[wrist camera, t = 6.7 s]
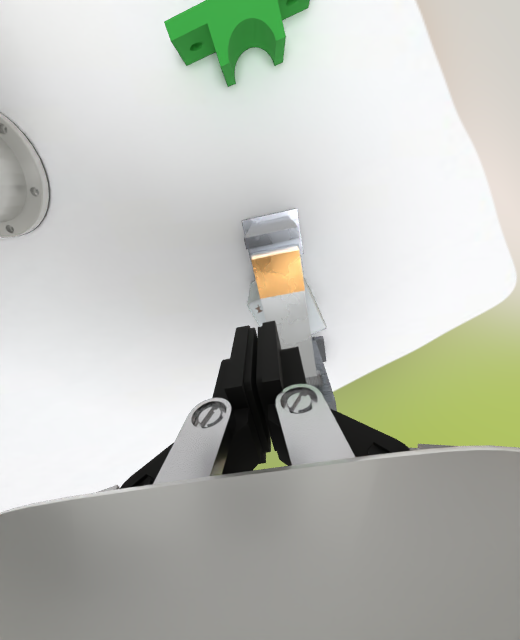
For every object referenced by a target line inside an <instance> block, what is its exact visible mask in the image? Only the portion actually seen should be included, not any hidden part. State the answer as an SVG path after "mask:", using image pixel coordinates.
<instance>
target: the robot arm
mask: <svg viewBox="0 0 520 640" xmlns="http://www.w3.org/2000/svg"><path fill="white" fill-rule="evenodd" d="M48 200H49V191H48V182H47V178H46V174H45V171H44V168H43V166H42V163H41V161H40V158H39V157H38V155H37V153H36V151H35V150H34V148H33V146H32V145H31V143H30V142H29V141H28V139H27V138H26V137H25V135H24V134H23V133H22V132H21V131H20V130H19V129H18V128H17V127H16V126H15V125H14V124H13V123H12V122H11V121H10V120H9V119H8V118H6V117H5V116H4V115H2V114H1V113H0V237H1V238H4V237H15V236H20V235H24V234H26V233H28V232H31V231H32V230H33V229H35V228H36V227H37V226H38V225H39V224H40V223H41V221H42V220H43V218H44V216H45V213H46V211H47V208H48ZM270 436H271V439H272V443H273V446H274V450H275V451H277V453H278V456H279V459H280V460H281V461H282V462H284V463H285V464H286V465H288V466H284V467H277V468H269V469H262V470H254V471H253V469H254V468H255V467H256V466H257V465H258V464H261V463H266V452H270V451H271V439H270ZM0 640H520V448H516V447H502V446H445V445H429V444H418V448H408V447H407V446H406V445H405V444H403V443H402V442H400V441H398V440H397V439H395V438H392V437H390V436H388V435H386V434H384V433H382V432H380V431H378V430H375V429H373V428H371V427H369V426H367V425H365V424H363V423H360V422H358V421H356V420H354V419H352V418H350V417H348V416H345V415H343V414H341V413H339V412H337V411H335V410H332V409H330V408H329V406H328V404H327V403H326V401H325V399H324V397H323V395H322V393H321V392H320V391H319V390H318V389H317V388H316V387H314V386H311V385H308V384H307V383H306V378H305V374H304V370H303V365H302V361H301V356H300V352H299V347H292V348H287V349H281V345H280V340H279V336H278V331H277V326H276V322H275V321H269V322H264V323H262V326H261V327H258V338H257V334H256V330H255V328H250V326H243V327H238V328H236V332H235V337H234V342H233V347H232V352H231V357H230V359H226V360H222V362H221V366H220V370H219V374H218V378H217V382H216V386H215V390H214V394H213V398H211V399H208V400H205V401H203V402H201V403H199V404H198V405H196V406H195V407H194V408H193V409H192V410H191V412H190V413H189V415H188V417H187V419H186V420H185V422H184V424H183V426H182V428H181V430H180V432H179V434H178V436H177V438H176V440H175V442H174V443H173V444H171V445H170V446H169V447H168V448H166V449H165V450H164V451H162V452H161V453H160V454H159V455H157V456H156V457H155V458H154V459H152V460H151V461H150V462H149V463H147V464H146V465H145V466H144V467H142V468H141V469H140V470H138V471H137V472H136V473H135V474H133V475H132V476H131V477H130V478H129V479H128V480H127V481H126V482H125V483H124V484H123V485H122V486H121V488H119V486H118V485H116V486H113V487H110V488H107V489H105V490H102V491H99V492H96V493H90V494H83V495H77V496H71V497H65V498H59V499H54V500H49V501H43V502H38V503H33V504H29V505H25V506H21V507H17V508H13V509H10V510H7V511H4V512H1V513H0Z"/></svg>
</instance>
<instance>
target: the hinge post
mask: <svg viewBox="0 0 520 640" xmlns="http://www.w3.org/2000/svg"><path fill="white" fill-rule="evenodd" d="M312 345H313V352H314V359H315V365H316V371H318V370H320V372H321V376H322V381H323V387H319V388H317V389H318V390H319V391H320V392H321V393H322V395H323V397H324V399H325V401H326V403H327V404H328V406H329V408H330V409H332V410H335V411H337V410H336V402H335V398H334V395H333V392H332V389H331V386H330V383H329V380H328V377H327V373H326V370H325V367H324V364H323V362H326V356H325V348H324V340H323V336H321V337H315V338H312Z"/></svg>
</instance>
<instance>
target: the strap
mask: <svg viewBox="0 0 520 640" xmlns="http://www.w3.org/2000/svg"><path fill="white" fill-rule="evenodd" d="M251 257H252V259H251V260H252V265H253V269H254V274H255V278H256V283H257V287H258V291H259V296H260V299H261V301H262V306H263V310H264V315H265V319H266V322H269V321H275V322H276V326H277V331H278V336H279V340H280V345H281V349H287V348H292V347H299V352H300V356H301V361H302V365H303V370H304V374H305V378H306V383H307V384H308V385H311V386H314V387H316V388H319V387H323V381H322V376H321V372H320V370H318V371H316V365H315V359H314V352H313V345H312V338H311V331H310V325H309V318H308V311H307V304H306V297H305V287H304V280H303V273H302V266H301V259H300V253H299V249H298V245H297V244H294V245H289V246H284V247H279V248H275V249H270V250H265V251H260V252H255V253H252V254H251Z"/></svg>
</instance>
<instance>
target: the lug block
mask: <svg viewBox="0 0 520 640" xmlns="http://www.w3.org/2000/svg"><path fill="white" fill-rule="evenodd" d="M242 224H243V229H244V233H245V237H244V241H245V245H246V249H248V251H249V255H250V260H251V259H252V257H251V254H252V253H255V252H260V251H265V250H270V249H275V248H279V247H284V246H289V245H294V244H297V245H298V249H299V253H300V259H301V254H303V247H302V240H301V233H300V226H299V219H298V211H297V208H296V209H291V210H287V211H282V212H278V213H273V214H269V215H264V216H260V217H255V218H251V219H246V220H242ZM251 264H252V260H251ZM252 266H253V265H252ZM301 266H302V259H301ZM253 271H254V269H253ZM302 272H303V266H302ZM254 275H255V274H254ZM255 280H256V278H255Z"/></svg>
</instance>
